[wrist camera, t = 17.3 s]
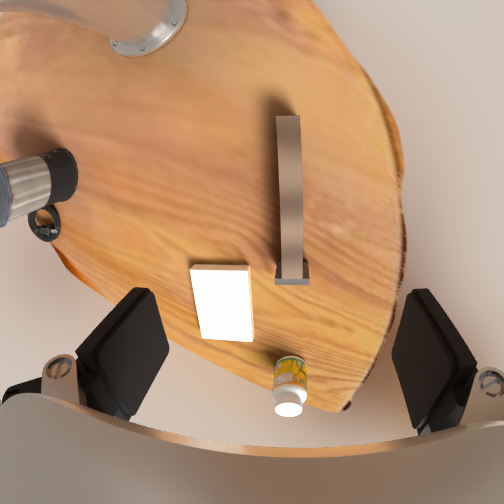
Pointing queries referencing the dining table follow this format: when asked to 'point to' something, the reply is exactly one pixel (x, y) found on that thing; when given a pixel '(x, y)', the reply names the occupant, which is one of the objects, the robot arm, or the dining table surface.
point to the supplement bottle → (290, 385)
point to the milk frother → (37, 188)
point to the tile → (223, 301)
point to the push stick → (290, 203)
